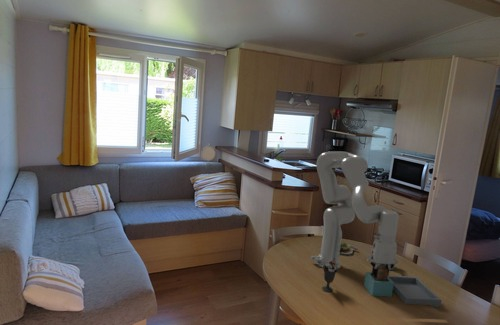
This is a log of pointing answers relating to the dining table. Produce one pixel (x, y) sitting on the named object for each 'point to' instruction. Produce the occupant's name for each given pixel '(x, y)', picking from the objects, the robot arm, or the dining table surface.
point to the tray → (414, 291)
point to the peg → (381, 273)
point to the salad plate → (346, 248)
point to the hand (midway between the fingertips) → (379, 275)
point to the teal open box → (378, 286)
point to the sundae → (329, 275)
